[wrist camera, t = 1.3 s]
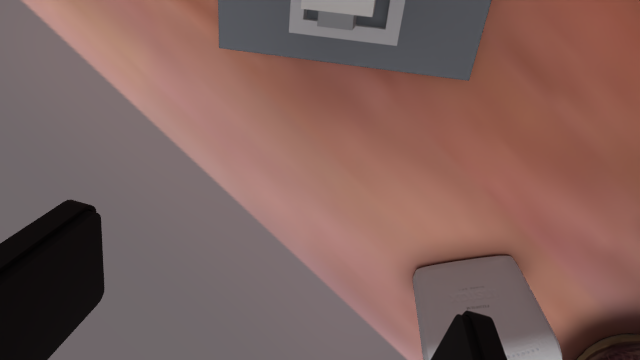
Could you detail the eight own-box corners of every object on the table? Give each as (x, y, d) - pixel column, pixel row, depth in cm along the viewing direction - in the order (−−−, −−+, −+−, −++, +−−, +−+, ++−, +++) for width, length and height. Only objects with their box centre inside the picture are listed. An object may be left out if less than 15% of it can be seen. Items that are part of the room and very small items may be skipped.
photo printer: (517, 248, 36) (577, 360, 25) (520, 283, 37) (578, 402, 26) (408, 264, 38) (420, 371, 27) (416, 295, 40) (430, 408, 29)
